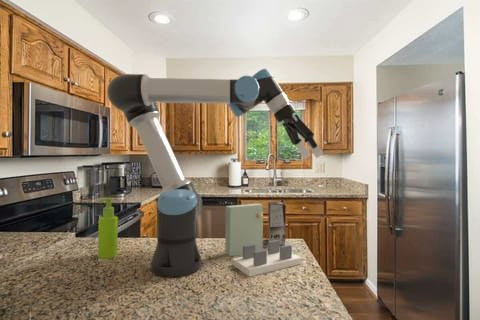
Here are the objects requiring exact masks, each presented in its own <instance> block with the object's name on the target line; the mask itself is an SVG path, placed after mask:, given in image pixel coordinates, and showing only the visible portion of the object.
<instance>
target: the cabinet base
mask: <svg viewBox="0 0 480 320" xmlns="http://www.w3.org/2000/svg"><path fill="white" fill-rule="evenodd" d="M292 249H293V247H292V245H291V244H285V245H279V240H273V241H269V240H268V242H267V249H264V248H263V250H259V251H255V245H254V244H250V245H245V246H243V254H242V256H240V257H239V256H238V257H234V258H232V263H231V264H232V266H233V267H235V268H236V269H237V270H239V271H240V272H242V273H243V274H245V275H246V276H248V278H250V277H255V276H258V275H263V274H266V273H267V274H268V273H270V272H274V271H278V270H282V269H283V270H284V269H286V268H290V267H294V266H299V265H301V264H302V257H301V256H299V255H296V254H294V253H293V252H292V251H293V250H292Z"/></svg>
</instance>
